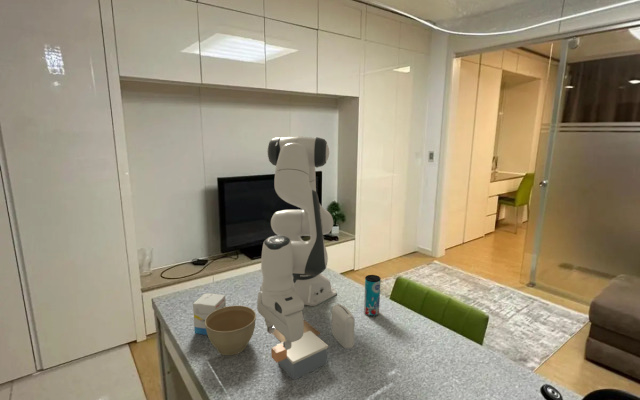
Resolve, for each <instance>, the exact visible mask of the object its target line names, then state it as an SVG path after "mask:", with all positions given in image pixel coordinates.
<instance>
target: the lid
mask: <svg viewBox="0 0 640 400" xmlns="http://www.w3.org/2000/svg"><path fill="white" fill-rule="evenodd" d="M328 348H329V345H328V344H327V343H326V342H324V340H322V339H321V338H320V337H319V336H318V335H317V336H316V335H315V334H314V333H312V332H311V331H308V332H306V333H303V336H302V338H301V339H299V340H297V341H294V342H291V348H290V349H288V350H286V349H285V348H284V347H283V342H282V343H281V342H280V343H277V344H275V346H272V347H270V349H271V353H270V354H271V355H270V356H271V358H272V359H273V361H274V362H275V363H277V364H278V362H279V361H282V360H284V359H286V358H287V359H288V360H289V361H290V362H291V363H292V364H295V363H297V362H299V361H301V360H303V359H305V358H308V357H310V356H312V355H314V354H316V353H318V352H320V351H322V350H325V349H328Z"/></svg>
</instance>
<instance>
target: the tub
mask: <svg viewBox="0 0 640 400" xmlns="http://www.w3.org/2000/svg"><path fill="white" fill-rule="evenodd" d="M327 349H328V348H327ZM327 349H325V350H322V351H320V352H318V353H316V354H314V355H312V356H310V357H308V358H305V359H303V360H301V361H299V362H297V363H295V364H292V363H291V362H290V361H289V360H288V359H287V358H286V359H284V360H282V361H279V362H277V364H278V365H279V366H280V367H281V368H282V369H283V370H284V372H285V373H286V374H287V375H288V376H289V377H290V379H292V380H293V381H294V380H296V379H298V378H301V377H303V376H305V375H307V374H309V373H311V372H312V371H315V370H316V369H318V368H321V367H323V366H325V365H327V363H328V361H327V359H328V358H327V355H328V354H327V353H328V351H327Z"/></svg>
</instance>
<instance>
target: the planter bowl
mask: <svg viewBox="0 0 640 400" xmlns="http://www.w3.org/2000/svg"><path fill="white" fill-rule="evenodd" d="M256 320H257V313H256V311H255V310H254V309H253V308H251V307H249V306H245V305H230V306H226V307H223V308H220V309H218V310H215V311H214V312H212V313H210V314H209V315H208V316H207V318H206V320H205V326H206V330H207V335H206V336H207V337H208V339H209V341H210V342H211V345H213V347H214V348H215V349H216V350H217V351H218V352H217V353H219V354H220V355H222V356H223V355H224V356H233V355H234V356H235V355H238V354H240V353H242V352H243V351H244V350H245V349H247V346H248V344H249V342H250V341H251V339H252V337H253V335H254V332H255V329H256Z"/></svg>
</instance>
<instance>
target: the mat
mask: <svg viewBox="0 0 640 400" xmlns="http://www.w3.org/2000/svg"><path fill="white" fill-rule="evenodd" d="M274 330H275V331H274V333H271V334H272V335H273V336H274V337H275V338H276V339H277V340H278V341H279V342H280V343H282V342H284V341H286V339H285V337H284V336H283V335H282V334H281V333H280V332H279V331H278V330H277V329H276V328H275V329H274ZM308 331H311V332H312V333H314V334H315V335H316V336H317V337H318V336H319V335H321V334H322V333H321V332H320V331H319V330H318V329H316V328H315V327H314V326H313V325H311V324H310V323H309V322H308V321H306V320H305V319H304V330H303V333H306V332H308Z"/></svg>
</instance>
